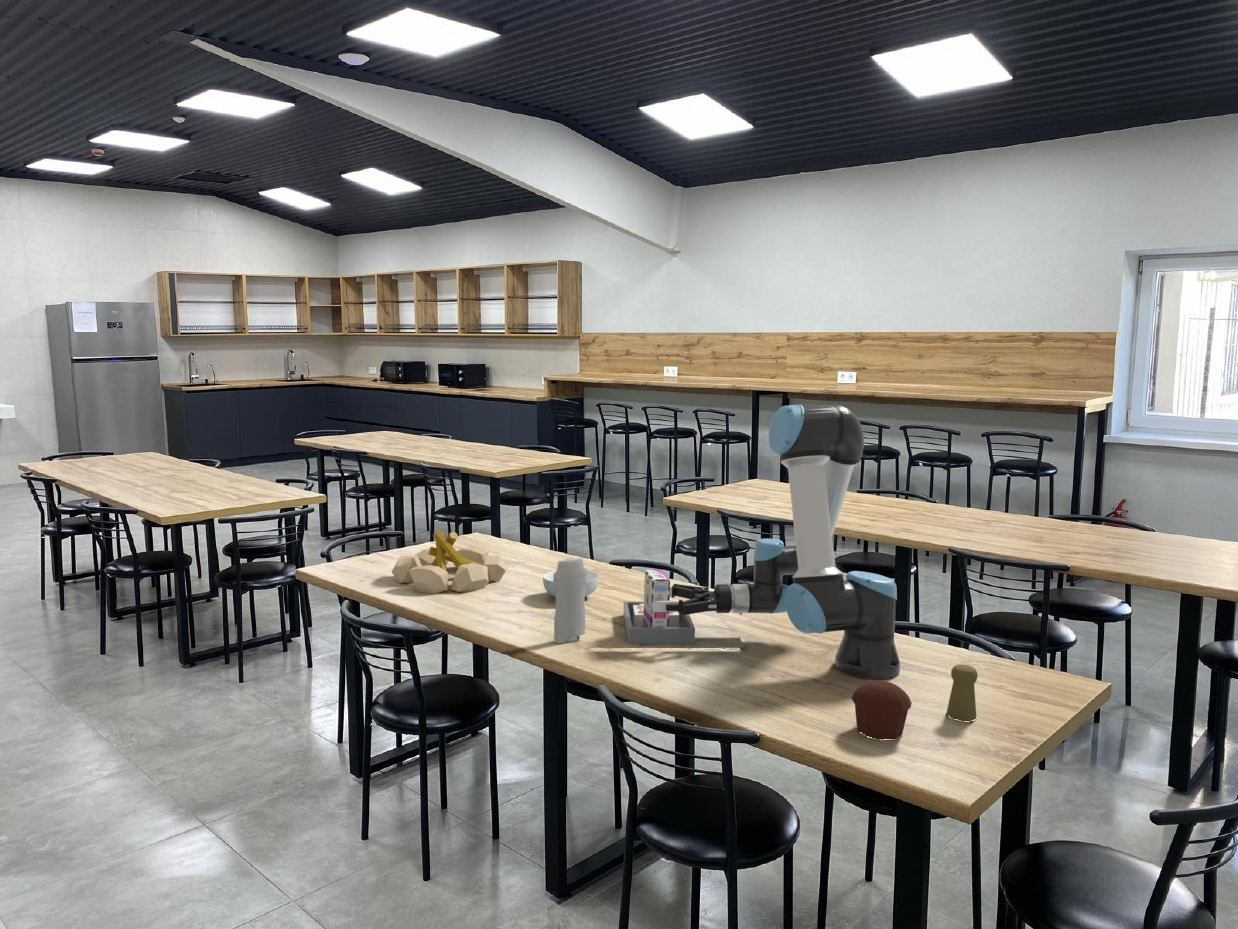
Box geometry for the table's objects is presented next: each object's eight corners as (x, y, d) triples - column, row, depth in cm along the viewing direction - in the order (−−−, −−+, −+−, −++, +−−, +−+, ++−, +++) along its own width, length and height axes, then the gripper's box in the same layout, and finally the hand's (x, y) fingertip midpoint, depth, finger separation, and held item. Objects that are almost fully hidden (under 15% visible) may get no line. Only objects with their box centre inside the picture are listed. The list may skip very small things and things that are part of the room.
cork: (969, 710, 190) (972, 661, 189) (981, 722, 184) (985, 671, 183) (941, 710, 190) (944, 661, 188) (953, 722, 184) (956, 671, 182)
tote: (694, 647, 227) (695, 628, 226) (628, 647, 226) (628, 628, 225) (683, 618, 251) (683, 601, 250) (623, 618, 250) (623, 601, 249)
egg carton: (679, 627, 240) (679, 611, 239) (634, 627, 239) (635, 611, 238) (675, 617, 248) (675, 601, 248) (632, 617, 248) (633, 601, 247)
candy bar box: (669, 641, 228) (671, 579, 226) (650, 642, 227) (651, 580, 225) (660, 628, 239) (662, 568, 237) (642, 628, 238) (643, 569, 236)
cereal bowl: (588, 588, 281) (588, 566, 280) (606, 602, 265) (606, 579, 264) (536, 592, 275) (536, 570, 274) (551, 607, 259) (552, 584, 258)
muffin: (851, 740, 175) (854, 692, 173) (846, 717, 185) (849, 672, 184) (914, 746, 173) (917, 697, 171) (905, 722, 184) (908, 676, 182)
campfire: (377, 578, 290) (376, 527, 287) (466, 562, 312) (465, 514, 310) (432, 602, 264) (431, 546, 262) (524, 582, 287) (524, 531, 284)
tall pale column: (557, 646, 226) (558, 562, 223) (548, 641, 230) (549, 558, 227) (590, 637, 233) (591, 556, 230) (581, 633, 236) (582, 553, 233)
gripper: (739, 627, 221) (654, 627, 219) (721, 599, 245) (645, 599, 244) (740, 598, 220) (654, 598, 218) (722, 572, 244) (646, 572, 243)
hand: (649, 598), depth 231 cm, fingers open, 13 cm apart
